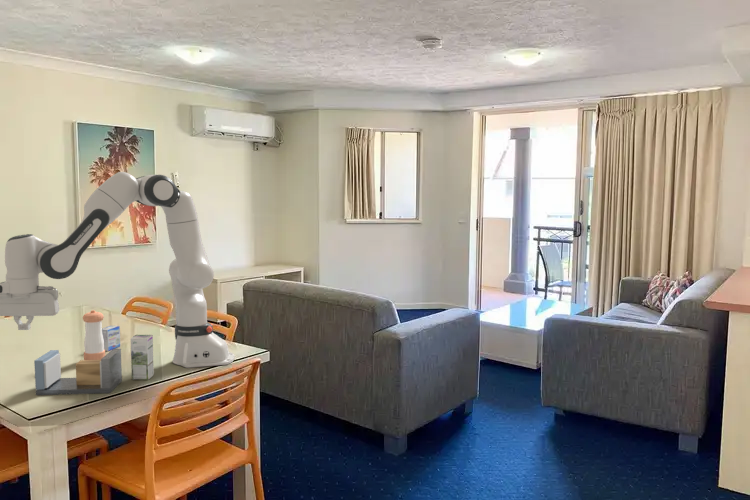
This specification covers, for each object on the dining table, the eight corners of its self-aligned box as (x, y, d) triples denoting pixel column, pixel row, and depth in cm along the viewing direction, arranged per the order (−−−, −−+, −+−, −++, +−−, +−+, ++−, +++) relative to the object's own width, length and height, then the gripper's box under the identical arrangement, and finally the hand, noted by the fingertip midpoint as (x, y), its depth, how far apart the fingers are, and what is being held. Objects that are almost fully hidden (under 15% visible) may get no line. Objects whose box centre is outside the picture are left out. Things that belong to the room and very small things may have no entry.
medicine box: (108, 351, 230) (107, 330, 229) (98, 350, 231) (97, 329, 230) (120, 346, 237) (120, 325, 237) (111, 345, 238) (110, 325, 237)
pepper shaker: (85, 358, 219) (83, 309, 217) (106, 357, 222) (104, 307, 220) (82, 364, 213) (80, 312, 211) (104, 362, 215) (102, 311, 213)
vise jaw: (61, 377, 192) (60, 349, 191) (45, 389, 180) (44, 360, 179) (52, 377, 192) (50, 350, 191) (35, 389, 180) (34, 360, 179)
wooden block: (81, 381, 189) (80, 360, 188) (107, 380, 190) (106, 359, 189) (76, 385, 185) (75, 363, 185) (102, 384, 186) (102, 363, 186)
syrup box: (154, 374, 201) (153, 333, 200) (148, 380, 196) (147, 338, 194) (137, 374, 201) (136, 333, 200) (131, 380, 195) (129, 338, 194)
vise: (121, 380, 195) (120, 348, 194) (110, 393, 183) (109, 358, 182) (52, 382, 192) (50, 350, 191) (35, 395, 180) (34, 360, 179)
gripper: (61, 284, 186) (63, 326, 188) (-7, 284, 184) (-5, 327, 185) (53, 287, 180) (55, 331, 182) (-18, 287, 178) (-16, 332, 179)
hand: (24, 329), depth 183 cm, fingers closed
